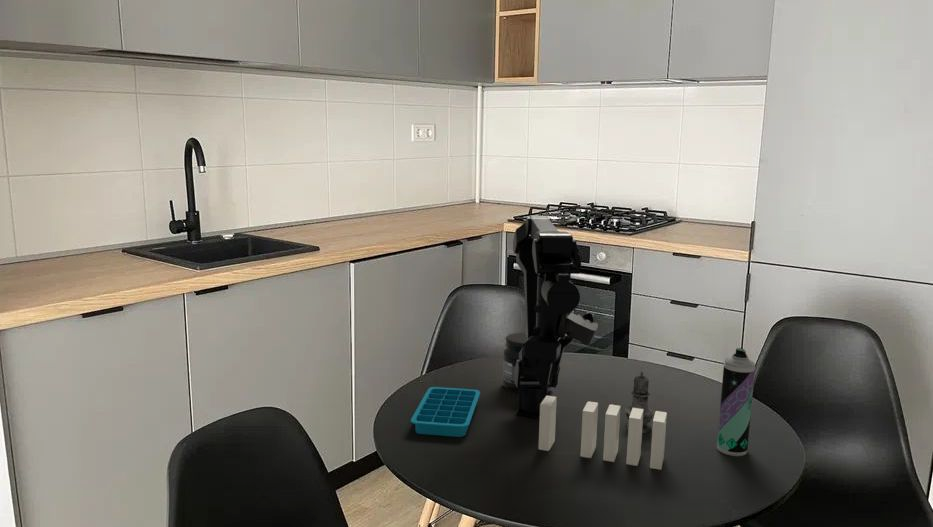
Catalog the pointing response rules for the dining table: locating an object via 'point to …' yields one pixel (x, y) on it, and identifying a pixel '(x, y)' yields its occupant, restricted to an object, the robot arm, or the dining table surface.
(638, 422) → the domino
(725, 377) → the spray can
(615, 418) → the domino
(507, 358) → the supplement container
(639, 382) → the chess piece
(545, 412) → the domino
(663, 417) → the domino
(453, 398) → the ice cube tray
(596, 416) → the domino
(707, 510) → the dining table surface
